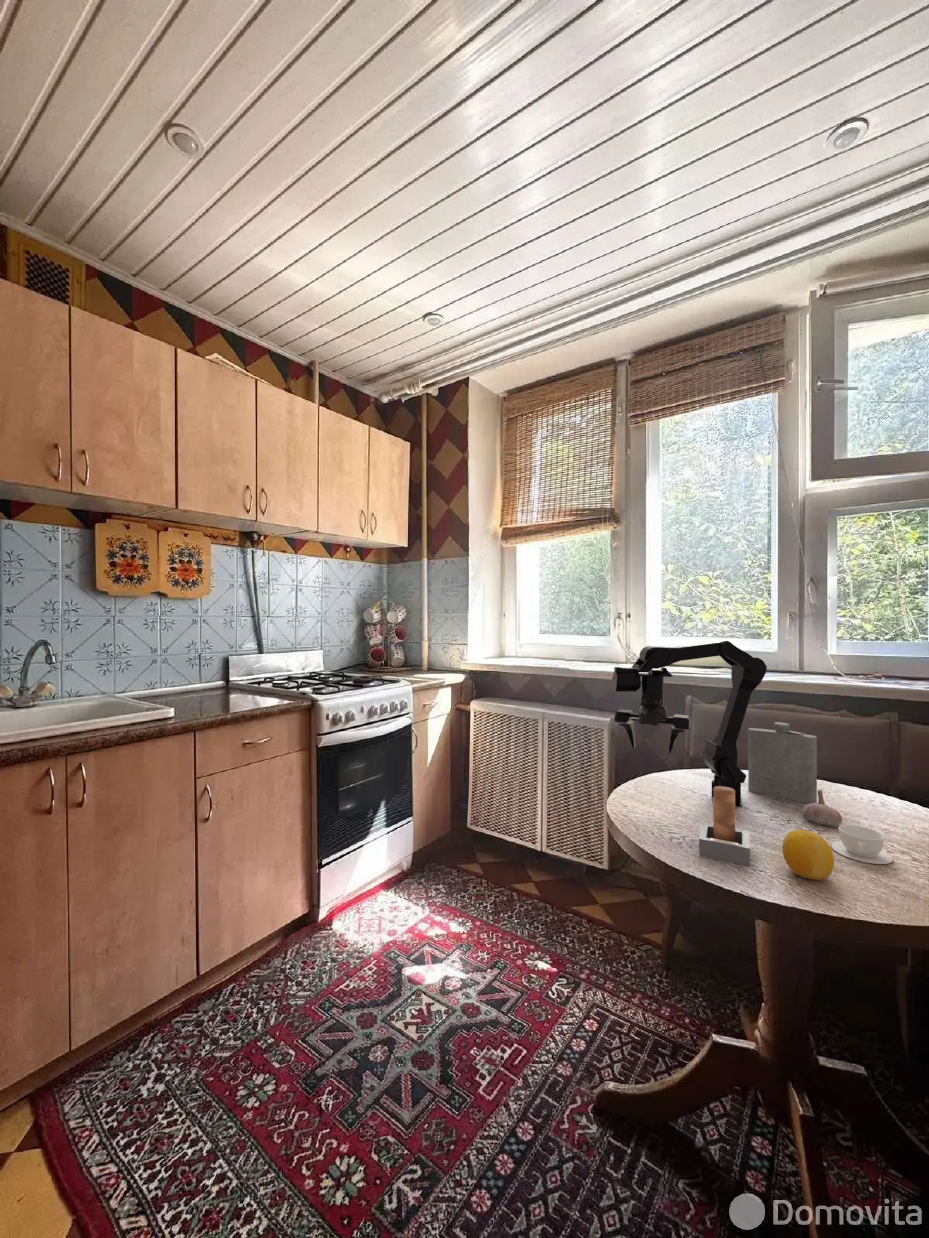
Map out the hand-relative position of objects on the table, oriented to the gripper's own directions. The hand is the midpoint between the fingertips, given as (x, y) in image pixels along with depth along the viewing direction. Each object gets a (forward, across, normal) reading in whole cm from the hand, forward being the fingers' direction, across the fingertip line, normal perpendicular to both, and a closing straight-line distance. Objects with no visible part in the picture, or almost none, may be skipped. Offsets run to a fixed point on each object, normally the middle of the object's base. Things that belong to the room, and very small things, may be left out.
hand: (651, 750), depth 133 cm
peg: (+13, +18, -25) cm, 33 cm away
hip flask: (+13, +31, +20) cm, 39 cm away
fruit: (+13, +32, -28) cm, 44 cm away
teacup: (+13, +43, -12) cm, 46 cm away
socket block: (+13, +18, -25) cm, 33 cm away
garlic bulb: (+13, +38, +3) cm, 40 cm away
